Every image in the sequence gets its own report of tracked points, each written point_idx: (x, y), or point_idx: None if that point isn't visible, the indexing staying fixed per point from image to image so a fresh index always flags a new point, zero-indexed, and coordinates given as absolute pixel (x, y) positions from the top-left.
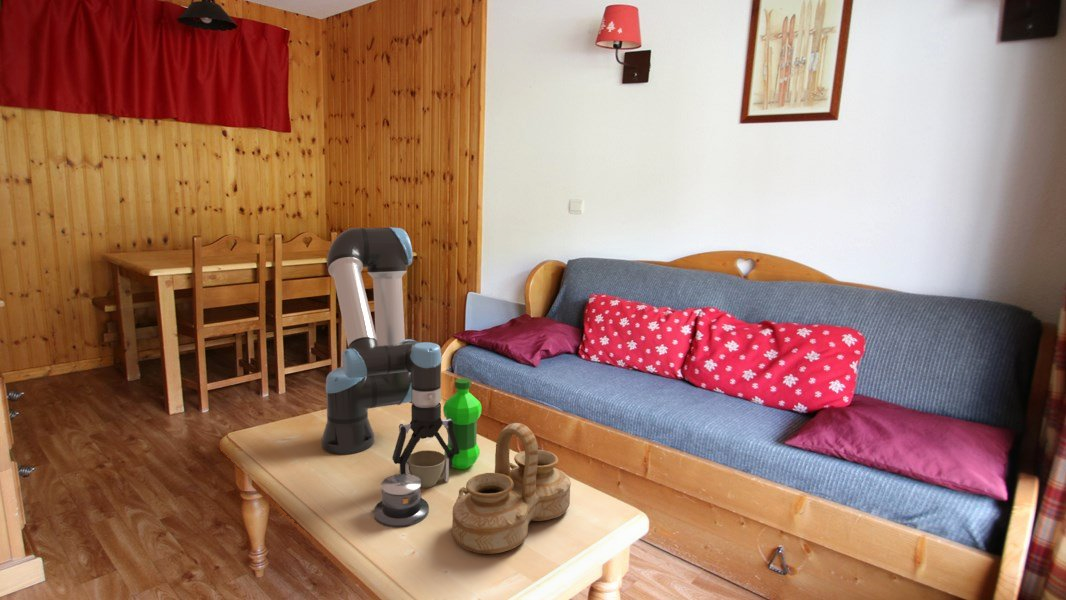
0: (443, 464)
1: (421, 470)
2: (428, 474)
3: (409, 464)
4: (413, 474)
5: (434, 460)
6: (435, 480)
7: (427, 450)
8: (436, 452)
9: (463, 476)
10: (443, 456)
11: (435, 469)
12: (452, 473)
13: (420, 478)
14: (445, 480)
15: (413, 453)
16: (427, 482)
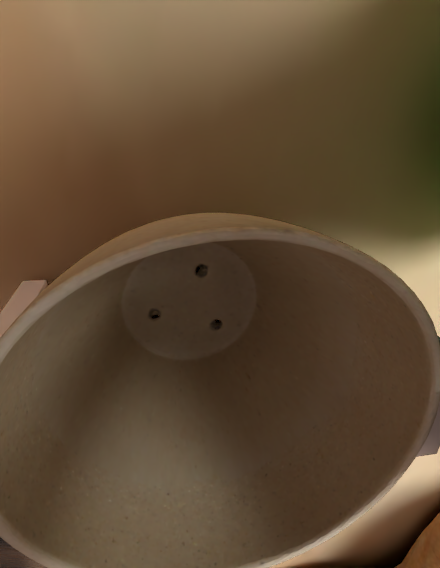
0: (348, 482)
1: (135, 542)
2: (192, 498)
3: (6, 523)
4: (74, 446)
5: (330, 267)
6: (242, 398)
7: (322, 246)
8: (406, 310)
9: (434, 272)
10: (420, 405)
11: (257, 523)
12: (400, 212)
13: (132, 448)
14: None
15: (76, 287)
16: (183, 412)
